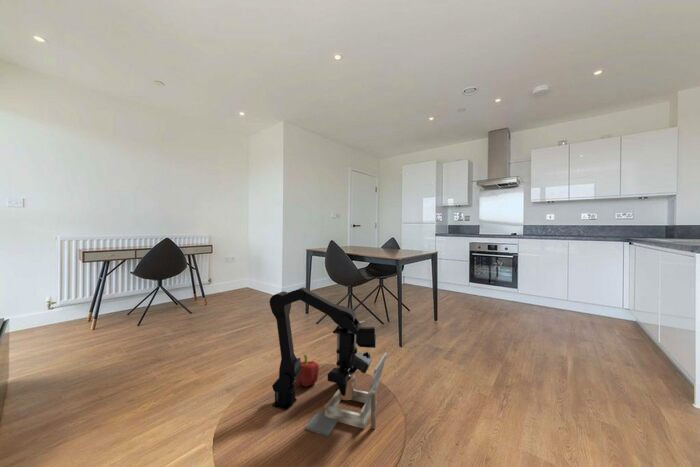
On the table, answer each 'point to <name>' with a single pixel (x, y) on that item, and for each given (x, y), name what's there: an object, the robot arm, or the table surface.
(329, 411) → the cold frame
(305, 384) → the vegetable
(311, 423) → the pad
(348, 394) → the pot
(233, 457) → the table surface
